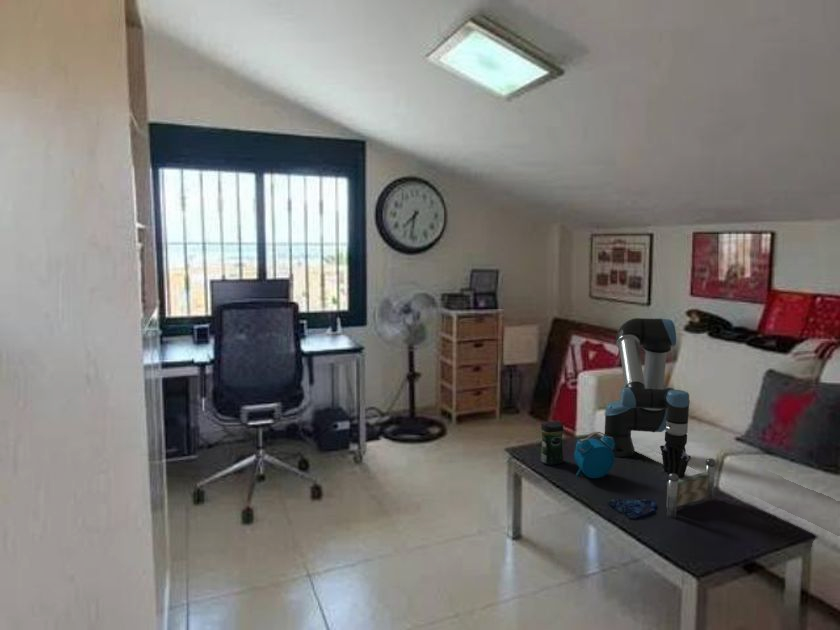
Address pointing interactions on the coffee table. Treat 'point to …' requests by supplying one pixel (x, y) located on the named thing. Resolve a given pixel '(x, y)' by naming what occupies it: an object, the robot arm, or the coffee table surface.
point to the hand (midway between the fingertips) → (672, 493)
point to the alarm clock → (594, 456)
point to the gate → (691, 488)
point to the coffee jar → (552, 442)
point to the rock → (632, 506)
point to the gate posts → (674, 486)
